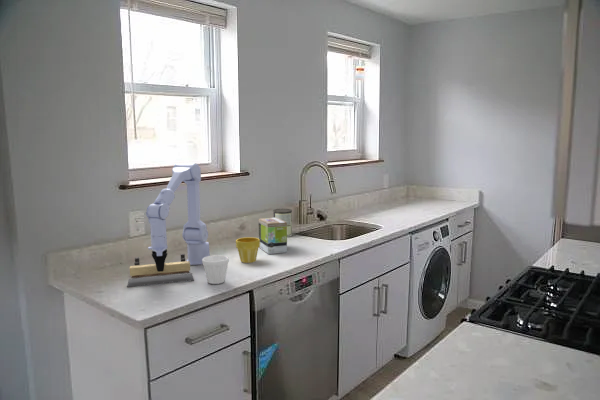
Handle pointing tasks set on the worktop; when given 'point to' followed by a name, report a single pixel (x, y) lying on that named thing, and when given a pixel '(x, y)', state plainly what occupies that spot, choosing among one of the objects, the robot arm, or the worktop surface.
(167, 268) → the brass rail
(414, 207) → the worktop surface
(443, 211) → the worktop surface
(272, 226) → the tea box
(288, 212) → the coffee can
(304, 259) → the worktop surface
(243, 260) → the plant pot
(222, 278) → the cup
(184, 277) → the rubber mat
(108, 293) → the worktop surface
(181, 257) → the hook rack
